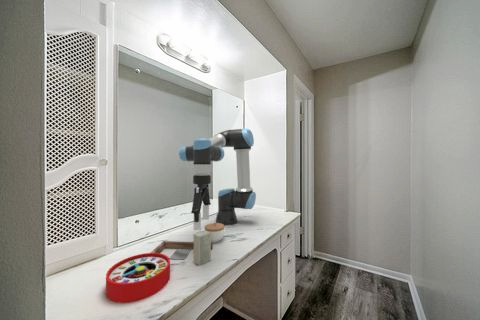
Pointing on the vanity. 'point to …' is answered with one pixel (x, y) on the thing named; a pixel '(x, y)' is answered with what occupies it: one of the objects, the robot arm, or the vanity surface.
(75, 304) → the vanity surface
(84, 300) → the vanity surface
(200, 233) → the skincare box
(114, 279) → the toy clock
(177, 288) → the vanity surface
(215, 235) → the lidded jar
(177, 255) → the walnut l-shaped corner bracket
